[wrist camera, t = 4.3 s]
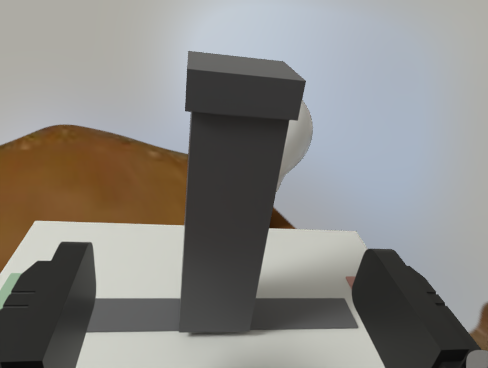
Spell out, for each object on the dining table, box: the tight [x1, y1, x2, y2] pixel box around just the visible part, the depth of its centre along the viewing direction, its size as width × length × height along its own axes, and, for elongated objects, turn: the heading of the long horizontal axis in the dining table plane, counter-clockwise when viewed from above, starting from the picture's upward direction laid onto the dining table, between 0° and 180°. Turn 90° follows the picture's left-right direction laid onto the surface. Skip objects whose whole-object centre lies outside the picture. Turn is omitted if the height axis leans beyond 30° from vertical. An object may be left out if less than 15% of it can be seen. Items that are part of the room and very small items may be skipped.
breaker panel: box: [0, 221, 385, 368], centre depth 17 cm, size 20×14×3 cm
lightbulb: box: [276, 100, 313, 192], centre depth 27 cm, size 6×6×11 cm
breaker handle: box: [179, 51, 306, 333], centre depth 14 cm, size 3×3×11 cm
